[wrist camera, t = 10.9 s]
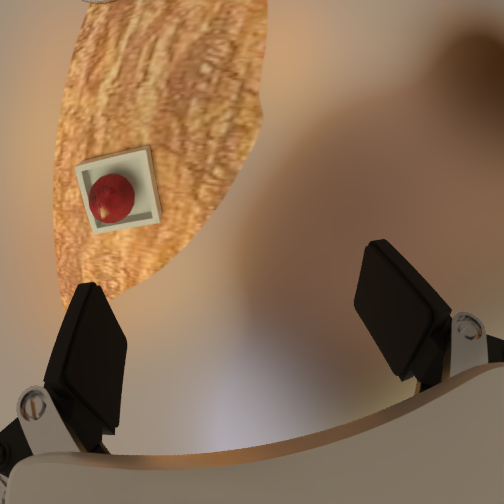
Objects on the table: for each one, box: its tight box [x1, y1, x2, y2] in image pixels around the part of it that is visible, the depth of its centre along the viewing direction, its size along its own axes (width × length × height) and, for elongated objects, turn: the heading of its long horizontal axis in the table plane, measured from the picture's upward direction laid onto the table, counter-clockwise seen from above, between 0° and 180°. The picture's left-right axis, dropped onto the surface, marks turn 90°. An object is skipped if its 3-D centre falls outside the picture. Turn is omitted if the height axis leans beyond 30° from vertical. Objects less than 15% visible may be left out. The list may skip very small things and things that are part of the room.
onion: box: [88, 174, 135, 223], centre depth 30 cm, size 6×6×8 cm
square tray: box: [75, 145, 162, 234], centre depth 32 cm, size 10×10×3 cm
